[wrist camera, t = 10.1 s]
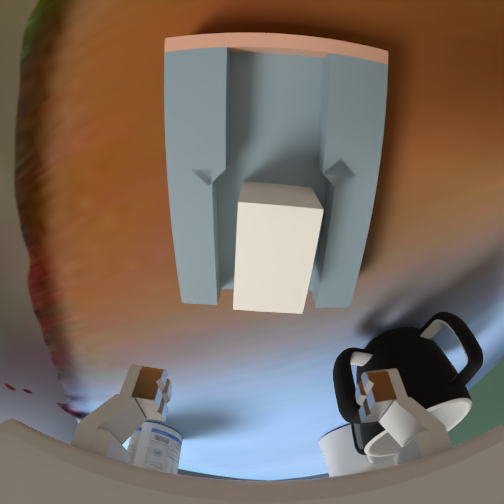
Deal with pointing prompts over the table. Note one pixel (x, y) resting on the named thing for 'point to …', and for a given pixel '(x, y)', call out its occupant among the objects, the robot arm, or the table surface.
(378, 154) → the channel dock
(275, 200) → the cream block
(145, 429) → the supplement tub
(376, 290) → the table surface
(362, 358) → the mug
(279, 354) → the table surface
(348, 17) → the table surface
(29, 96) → the table surface
